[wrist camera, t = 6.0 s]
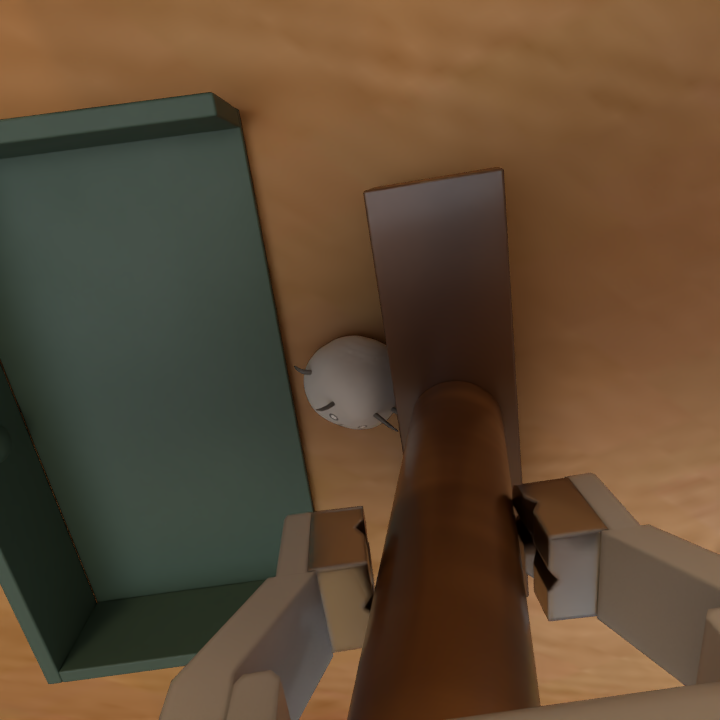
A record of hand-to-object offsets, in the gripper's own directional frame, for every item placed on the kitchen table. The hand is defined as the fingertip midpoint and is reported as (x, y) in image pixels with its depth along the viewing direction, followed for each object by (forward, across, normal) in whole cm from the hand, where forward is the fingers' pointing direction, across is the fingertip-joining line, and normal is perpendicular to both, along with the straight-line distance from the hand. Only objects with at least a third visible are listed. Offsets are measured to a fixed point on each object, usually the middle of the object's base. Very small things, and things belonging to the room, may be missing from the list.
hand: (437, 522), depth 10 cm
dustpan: (+8, +10, 0) cm, 13 cm away
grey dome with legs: (+8, +1, 0) cm, 8 cm away
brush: (+7, -2, 0) cm, 7 cm away
